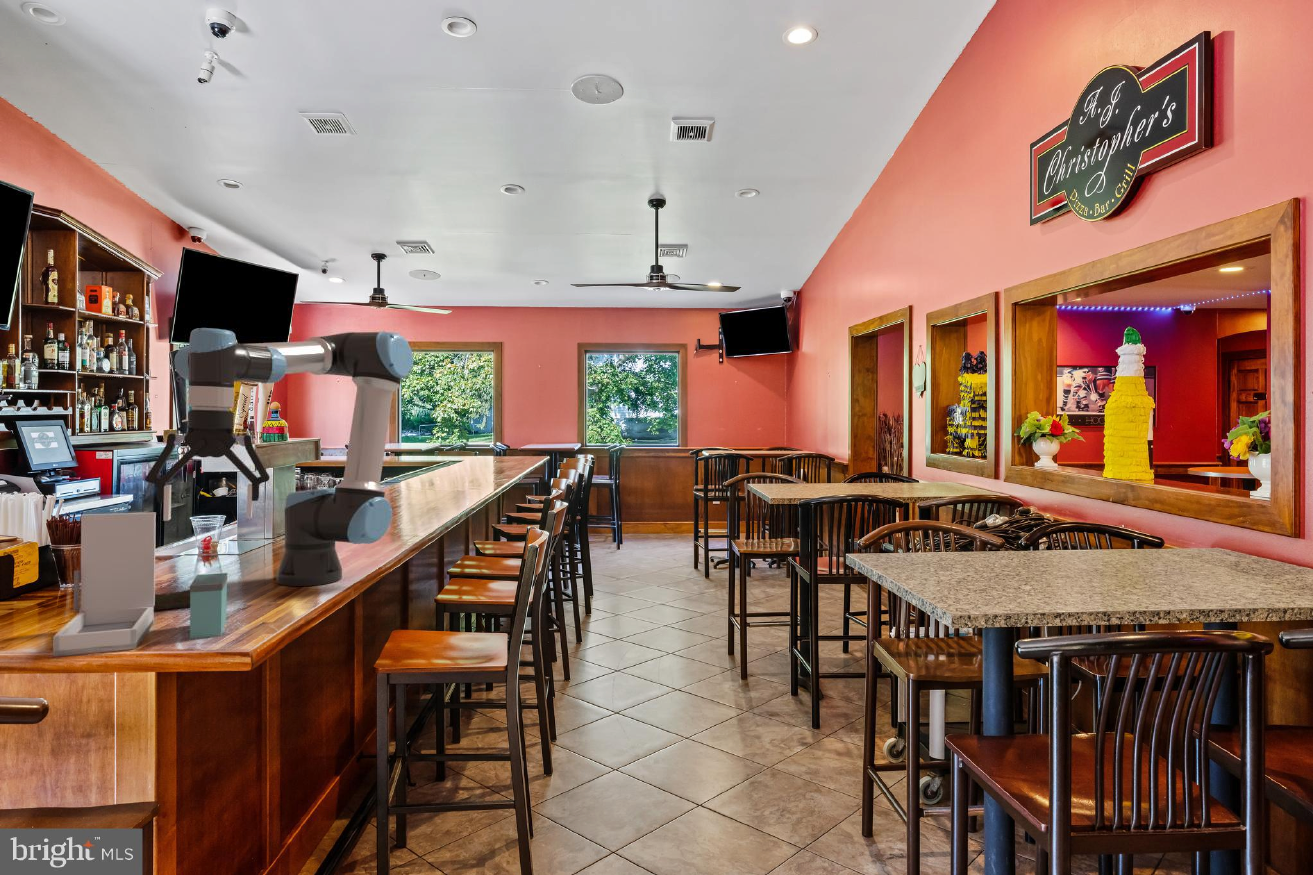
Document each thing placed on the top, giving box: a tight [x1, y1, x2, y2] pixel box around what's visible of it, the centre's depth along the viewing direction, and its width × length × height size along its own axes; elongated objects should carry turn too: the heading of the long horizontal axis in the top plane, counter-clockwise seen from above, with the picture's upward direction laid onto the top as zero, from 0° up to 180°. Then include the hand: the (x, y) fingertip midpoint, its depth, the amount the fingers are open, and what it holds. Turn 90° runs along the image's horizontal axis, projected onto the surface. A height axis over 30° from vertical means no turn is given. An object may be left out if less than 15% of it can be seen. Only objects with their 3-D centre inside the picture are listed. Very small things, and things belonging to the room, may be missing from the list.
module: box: [189, 572, 228, 640], centre depth 139 cm, size 5×10×10 cm, turn 26°
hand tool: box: [154, 589, 190, 611], centre depth 152 cm, size 19×4×5 cm, turn 130°
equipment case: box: [52, 511, 157, 658], centre depth 132 cm, size 12×18×22 cm
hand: (209, 518), depth 138 cm, fingers open, 13 cm apart
